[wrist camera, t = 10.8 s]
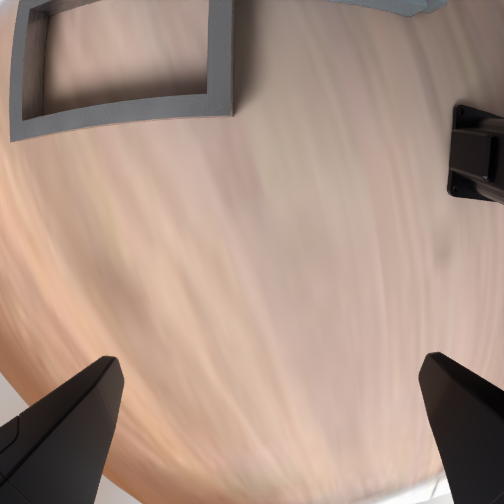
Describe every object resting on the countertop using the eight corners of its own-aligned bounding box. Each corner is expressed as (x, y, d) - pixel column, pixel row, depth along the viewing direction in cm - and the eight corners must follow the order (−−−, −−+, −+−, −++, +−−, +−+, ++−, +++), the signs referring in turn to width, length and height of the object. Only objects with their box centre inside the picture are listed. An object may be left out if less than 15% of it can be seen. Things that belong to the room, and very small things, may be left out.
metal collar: (235, -33, 14) (233, -51, 11) (232, 116, 18) (230, 115, 15) (38, 7, 14) (19, 0, 11) (31, 138, 18) (10, 142, 15)
